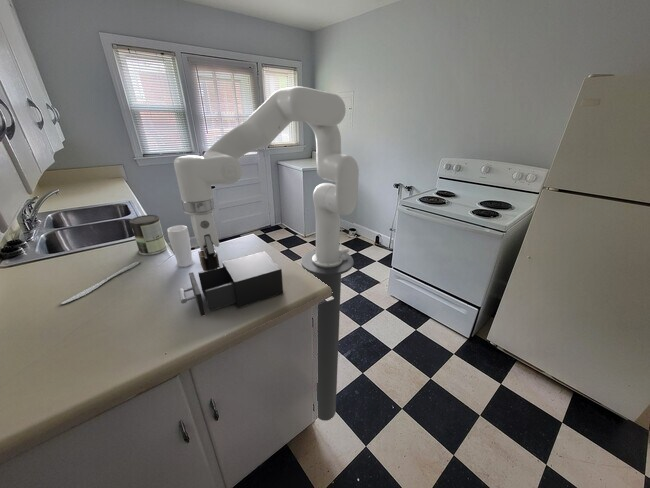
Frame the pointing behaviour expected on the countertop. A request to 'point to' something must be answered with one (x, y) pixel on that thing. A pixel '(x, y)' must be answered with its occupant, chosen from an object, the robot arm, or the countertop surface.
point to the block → (201, 256)
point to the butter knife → (99, 283)
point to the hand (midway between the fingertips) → (210, 264)
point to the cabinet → (254, 278)
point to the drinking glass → (180, 244)
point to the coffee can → (148, 234)
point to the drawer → (211, 289)
